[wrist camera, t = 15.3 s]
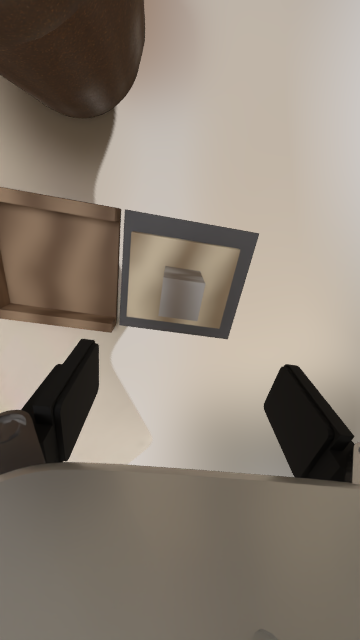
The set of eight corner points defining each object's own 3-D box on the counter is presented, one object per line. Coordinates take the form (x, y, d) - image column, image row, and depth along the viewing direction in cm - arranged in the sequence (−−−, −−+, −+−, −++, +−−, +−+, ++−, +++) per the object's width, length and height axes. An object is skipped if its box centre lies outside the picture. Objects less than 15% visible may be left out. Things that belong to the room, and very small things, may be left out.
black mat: (257, 233, 25) (259, 233, 24) (226, 337, 31) (227, 339, 30) (125, 209, 23) (124, 209, 23) (120, 323, 29) (119, 325, 29)
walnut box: (121, 208, 23) (115, 208, 21) (116, 323, 29) (111, 332, 27) (-20, 183, 22) (-43, 179, 20) (5, 308, 28) (-11, 317, 26)
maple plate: (237, 248, 25) (255, 258, 20) (217, 324, 29) (227, 350, 24) (133, 231, 24) (121, 236, 18) (128, 312, 28) (117, 336, 23)
